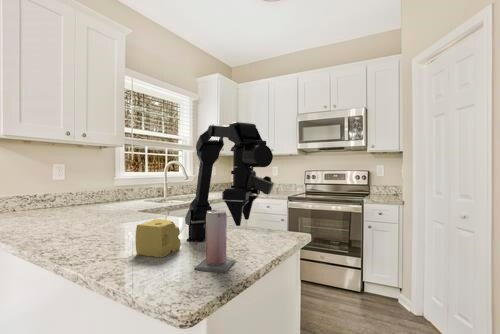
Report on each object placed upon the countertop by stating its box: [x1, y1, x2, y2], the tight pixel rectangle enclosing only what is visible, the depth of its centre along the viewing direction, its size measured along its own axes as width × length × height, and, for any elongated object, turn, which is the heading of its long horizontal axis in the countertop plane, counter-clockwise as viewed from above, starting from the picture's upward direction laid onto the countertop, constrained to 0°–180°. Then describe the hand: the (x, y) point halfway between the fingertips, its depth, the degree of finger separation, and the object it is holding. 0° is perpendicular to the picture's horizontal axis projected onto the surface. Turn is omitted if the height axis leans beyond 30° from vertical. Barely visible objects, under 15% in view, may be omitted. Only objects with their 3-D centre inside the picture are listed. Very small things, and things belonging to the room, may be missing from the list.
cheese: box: [135, 218, 181, 258], centre depth 92 cm, size 10×11×10 cm
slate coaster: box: [194, 258, 236, 274], centre depth 80 cm, size 9×9×1 cm
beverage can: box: [205, 209, 228, 266], centre depth 80 cm, size 6×6×15 cm
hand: (242, 222), depth 78 cm, fingers open, 9 cm apart
